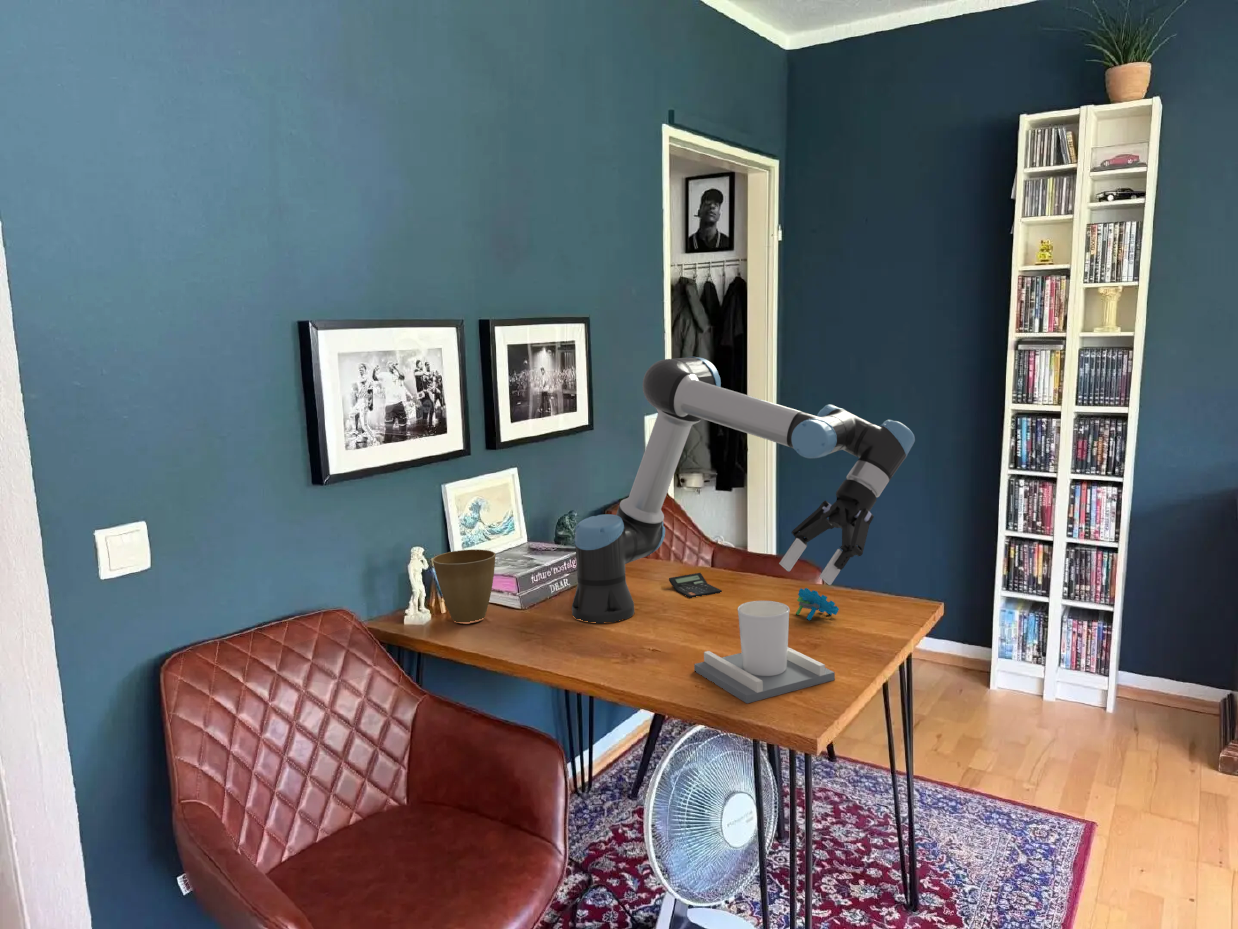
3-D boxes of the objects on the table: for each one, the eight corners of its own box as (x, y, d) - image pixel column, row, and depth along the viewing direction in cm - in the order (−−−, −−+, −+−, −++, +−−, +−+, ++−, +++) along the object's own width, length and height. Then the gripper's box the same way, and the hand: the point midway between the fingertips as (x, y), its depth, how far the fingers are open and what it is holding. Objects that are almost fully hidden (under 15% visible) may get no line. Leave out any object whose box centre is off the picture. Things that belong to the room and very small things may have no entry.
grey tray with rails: (746, 703, 154) (746, 685, 153) (694, 671, 170) (693, 654, 169) (834, 679, 162) (834, 662, 162) (776, 651, 179) (776, 635, 178)
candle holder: (728, 670, 166) (727, 610, 164) (758, 655, 173) (757, 597, 171) (771, 682, 159) (770, 619, 157) (800, 666, 166) (799, 606, 164)
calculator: (689, 599, 218) (689, 588, 217) (669, 588, 228) (668, 577, 228) (721, 593, 221) (721, 582, 221) (700, 583, 232) (699, 572, 232)
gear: (848, 612, 196) (821, 587, 192) (836, 634, 194) (809, 609, 190) (815, 607, 206) (789, 583, 202) (804, 628, 204) (777, 604, 200)
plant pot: (512, 616, 209) (508, 552, 207) (465, 634, 198) (460, 567, 196) (472, 607, 219) (467, 545, 217) (425, 623, 208) (419, 558, 205)
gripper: (916, 507, 163) (856, 598, 159) (834, 493, 186) (780, 572, 182) (892, 483, 161) (831, 575, 157) (812, 472, 183) (757, 552, 180)
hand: (803, 574), depth 169 cm, fingers open, 13 cm apart
